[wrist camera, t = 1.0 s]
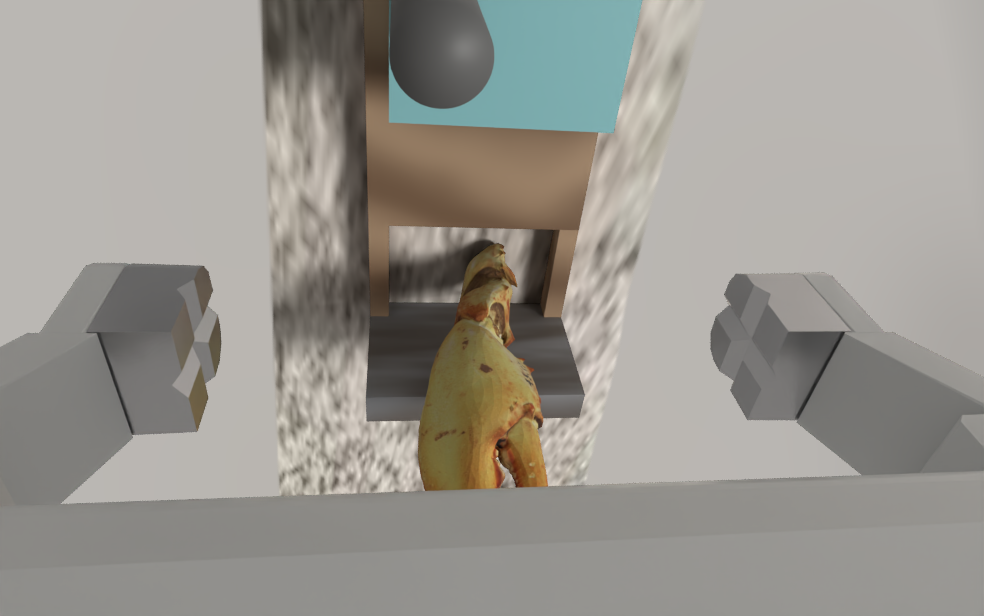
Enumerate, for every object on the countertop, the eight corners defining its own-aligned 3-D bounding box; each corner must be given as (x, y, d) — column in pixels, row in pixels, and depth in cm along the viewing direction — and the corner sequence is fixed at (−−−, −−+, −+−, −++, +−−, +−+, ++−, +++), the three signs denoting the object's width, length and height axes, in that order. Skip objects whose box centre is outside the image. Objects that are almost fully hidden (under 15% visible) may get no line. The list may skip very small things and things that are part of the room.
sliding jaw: (390, -79, 30) (385, -4, 19) (611, -58, 31) (726, 22, 20) (390, 77, 34) (386, 211, 23) (584, 88, 35) (668, 219, 24)
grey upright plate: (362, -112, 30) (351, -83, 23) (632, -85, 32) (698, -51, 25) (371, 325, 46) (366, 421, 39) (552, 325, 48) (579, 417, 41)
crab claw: (412, 293, 45) (417, 562, 29) (422, 229, 42) (433, 491, 26) (511, 302, 46) (566, 564, 30) (527, 241, 43) (598, 496, 27)
